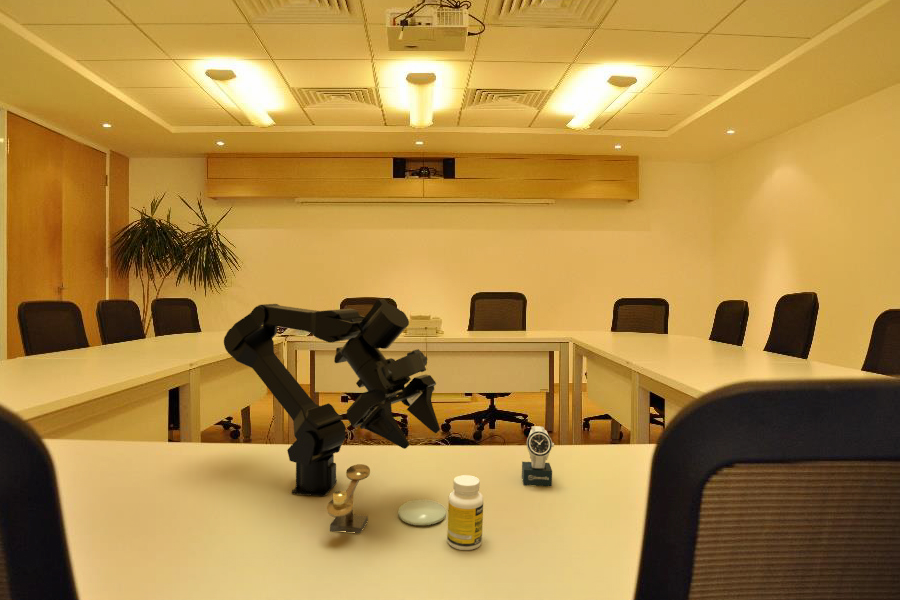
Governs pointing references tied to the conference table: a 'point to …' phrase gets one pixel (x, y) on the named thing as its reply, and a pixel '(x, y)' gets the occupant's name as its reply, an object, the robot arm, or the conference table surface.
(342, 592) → the conference table surface
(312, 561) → the conference table surface
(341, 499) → the balance
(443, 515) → the dish
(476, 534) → the supplement bottle
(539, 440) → the watch
